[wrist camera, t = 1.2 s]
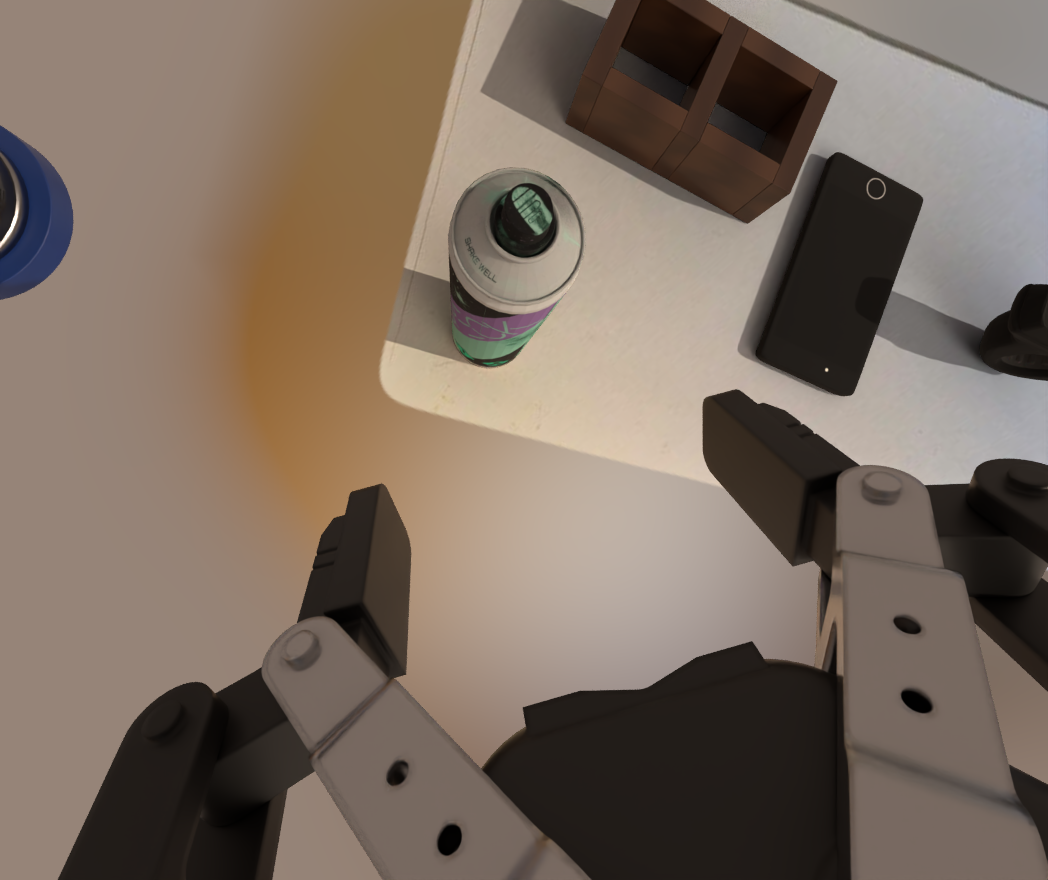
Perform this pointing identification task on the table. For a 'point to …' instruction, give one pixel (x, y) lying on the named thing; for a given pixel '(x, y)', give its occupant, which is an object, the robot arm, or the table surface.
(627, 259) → the table surface
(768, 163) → the rack
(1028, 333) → the controller
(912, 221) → the cell phone
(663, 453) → the table surface
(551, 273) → the spray can
